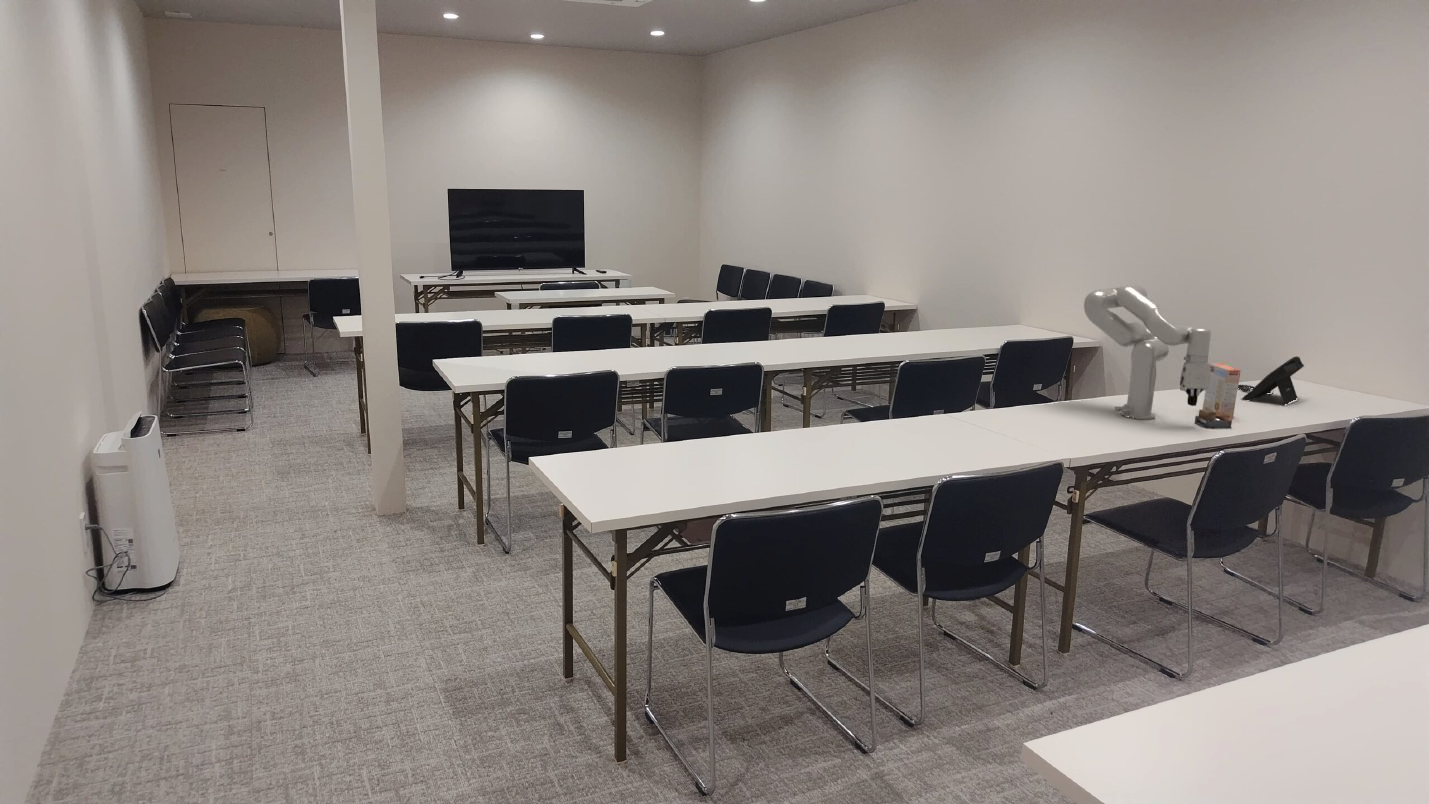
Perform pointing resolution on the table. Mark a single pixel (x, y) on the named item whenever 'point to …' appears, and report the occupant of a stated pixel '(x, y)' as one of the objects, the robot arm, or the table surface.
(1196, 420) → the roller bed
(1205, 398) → the cracker box
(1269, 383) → the office phone
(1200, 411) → the slab
